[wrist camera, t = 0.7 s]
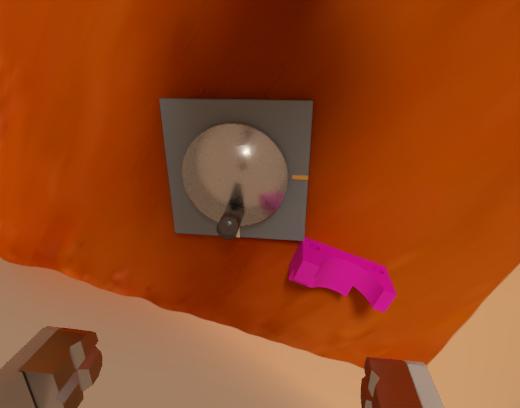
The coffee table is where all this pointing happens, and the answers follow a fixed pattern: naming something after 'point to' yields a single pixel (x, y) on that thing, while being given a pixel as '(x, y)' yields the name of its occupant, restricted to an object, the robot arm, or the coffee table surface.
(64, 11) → the coffee table surface
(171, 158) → the dial plate
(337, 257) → the toy block
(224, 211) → the dial
